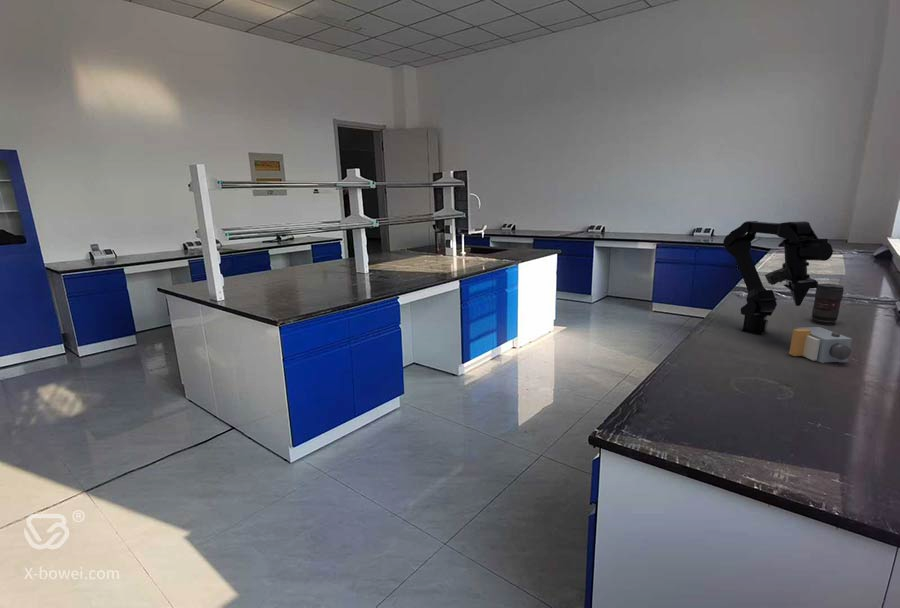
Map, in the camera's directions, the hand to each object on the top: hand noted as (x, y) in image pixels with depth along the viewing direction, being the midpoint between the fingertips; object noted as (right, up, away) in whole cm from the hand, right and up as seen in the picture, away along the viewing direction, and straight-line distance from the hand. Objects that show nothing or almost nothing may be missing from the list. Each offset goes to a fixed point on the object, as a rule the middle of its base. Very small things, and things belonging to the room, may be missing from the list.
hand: (797, 305), depth 152 cm
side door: (-7, -16, -11) cm, 21 cm away
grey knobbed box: (0, -16, -10) cm, 19 cm away
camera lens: (+28, -7, +24) cm, 38 cm away
